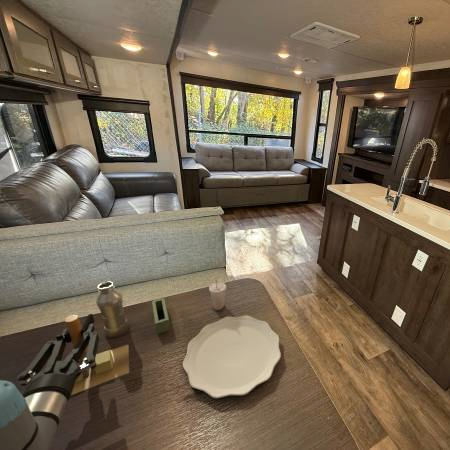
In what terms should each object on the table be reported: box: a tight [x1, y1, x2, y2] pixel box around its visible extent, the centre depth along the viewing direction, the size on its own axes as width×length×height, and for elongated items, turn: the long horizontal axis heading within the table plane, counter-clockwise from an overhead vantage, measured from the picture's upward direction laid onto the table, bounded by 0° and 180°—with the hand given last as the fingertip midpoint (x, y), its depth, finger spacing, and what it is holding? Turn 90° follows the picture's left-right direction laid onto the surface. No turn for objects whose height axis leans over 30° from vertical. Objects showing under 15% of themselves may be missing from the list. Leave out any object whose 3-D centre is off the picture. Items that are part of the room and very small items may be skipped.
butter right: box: [94, 349, 113, 374], centre depth 70 cm, size 4×4×4 cm
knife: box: [64, 313, 90, 379], centre depth 65 cm, size 8×3×17 cm, turn 33°
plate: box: [182, 315, 282, 399], centre depth 79 cm, size 29×29×2 cm
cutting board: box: [71, 344, 130, 396], centre depth 69 cm, size 11×18×2 cm, turn 123°
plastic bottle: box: [95, 281, 130, 339], centre depth 79 cm, size 6×7×20 cm
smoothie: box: [208, 277, 227, 311], centre depth 96 cm, size 6×6×14 cm
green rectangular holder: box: [151, 297, 171, 335], centre depth 88 cm, size 12×4×6 cm, turn 33°
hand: (84, 319), depth 68 cm, fingers closed on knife, 3 cm apart
